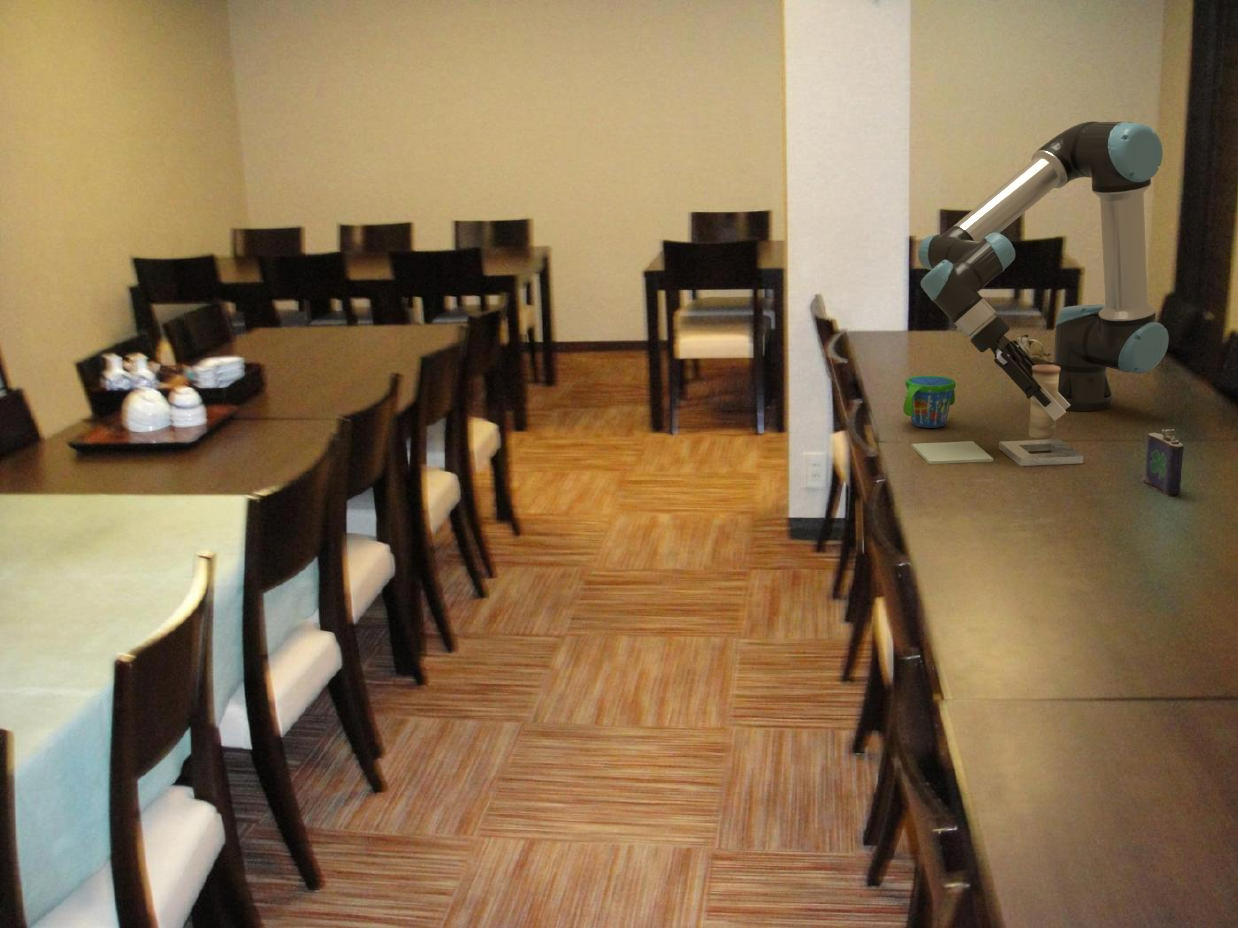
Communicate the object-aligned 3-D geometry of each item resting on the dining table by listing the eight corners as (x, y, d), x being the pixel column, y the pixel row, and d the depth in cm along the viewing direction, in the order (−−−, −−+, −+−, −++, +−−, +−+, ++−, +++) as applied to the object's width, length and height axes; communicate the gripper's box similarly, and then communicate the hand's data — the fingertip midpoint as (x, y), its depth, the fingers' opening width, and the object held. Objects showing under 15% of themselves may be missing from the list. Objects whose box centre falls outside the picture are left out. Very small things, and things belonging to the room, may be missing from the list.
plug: (1049, 431, 262) (1054, 364, 258) (1059, 438, 257) (1064, 369, 253) (1023, 432, 262) (1028, 365, 258) (1033, 439, 256) (1037, 371, 252)
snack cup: (935, 414, 294) (937, 371, 291) (971, 423, 285) (973, 379, 282) (886, 425, 286) (887, 381, 283) (921, 435, 277) (923, 389, 274)
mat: (972, 444, 270) (972, 441, 270) (993, 461, 257) (993, 458, 257) (911, 446, 269) (911, 443, 269) (929, 464, 257) (929, 461, 257)
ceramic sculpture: (996, 329, 343) (1053, 332, 342) (992, 361, 346) (1048, 364, 344) (1003, 337, 333) (1062, 340, 332) (999, 370, 336) (1057, 373, 334)
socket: (1058, 446, 267) (1058, 439, 266) (1082, 463, 255) (1083, 456, 254) (998, 448, 266) (999, 441, 266) (1020, 466, 254) (1021, 458, 254)
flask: (1140, 481, 243) (1146, 422, 239) (1155, 480, 243) (1161, 421, 240) (1169, 497, 233) (1175, 436, 230) (1185, 496, 234) (1192, 435, 230)
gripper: (978, 330, 268) (1055, 414, 266) (959, 347, 253) (1040, 435, 250) (1005, 307, 264) (1084, 391, 262) (988, 322, 249) (1070, 411, 246)
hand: (1062, 412), depth 256 cm, fingers closed on plug, 5 cm apart
